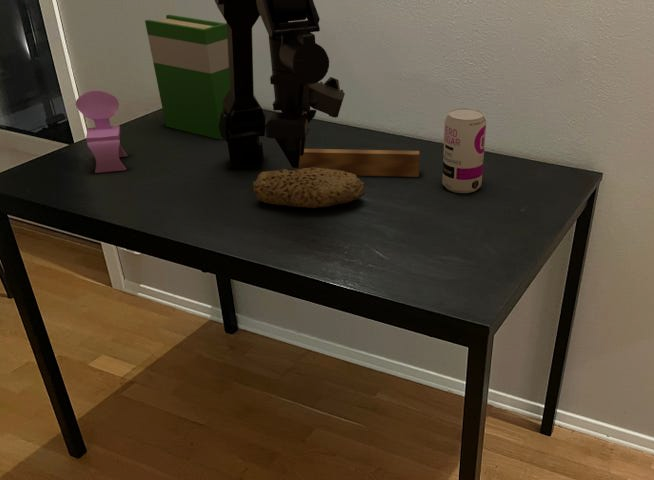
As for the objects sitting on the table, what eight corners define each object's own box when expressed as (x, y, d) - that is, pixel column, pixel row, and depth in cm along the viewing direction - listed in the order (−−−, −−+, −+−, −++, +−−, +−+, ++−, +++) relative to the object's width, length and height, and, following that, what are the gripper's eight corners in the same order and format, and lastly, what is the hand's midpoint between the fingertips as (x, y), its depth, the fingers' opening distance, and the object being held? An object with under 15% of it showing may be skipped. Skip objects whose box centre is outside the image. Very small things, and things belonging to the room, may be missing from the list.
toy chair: (90, 174, 150) (70, 102, 141) (92, 159, 157) (73, 89, 148) (131, 170, 152) (114, 99, 143) (132, 155, 159) (116, 86, 150)
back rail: (297, 174, 151) (295, 151, 148) (298, 171, 153) (296, 148, 150) (418, 177, 151) (419, 154, 148) (419, 173, 153) (419, 150, 150)
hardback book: (166, 126, 174) (144, 20, 160) (187, 117, 179) (168, 14, 165) (221, 139, 168) (204, 30, 153) (241, 130, 173) (227, 23, 158)
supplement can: (486, 182, 149) (492, 110, 140) (472, 197, 143) (477, 123, 134) (451, 175, 152) (454, 104, 143) (436, 189, 146) (438, 116, 137)
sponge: (253, 215, 138) (343, 212, 130) (245, 174, 135) (337, 168, 127) (288, 201, 149) (373, 197, 141) (281, 163, 146) (368, 157, 138)
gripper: (333, 85, 106) (338, 183, 116) (345, 53, 121) (349, 143, 131) (259, 83, 106) (270, 182, 116) (280, 52, 121) (288, 142, 131)
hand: (298, 161), depth 123 cm, fingers open, 5 cm apart
